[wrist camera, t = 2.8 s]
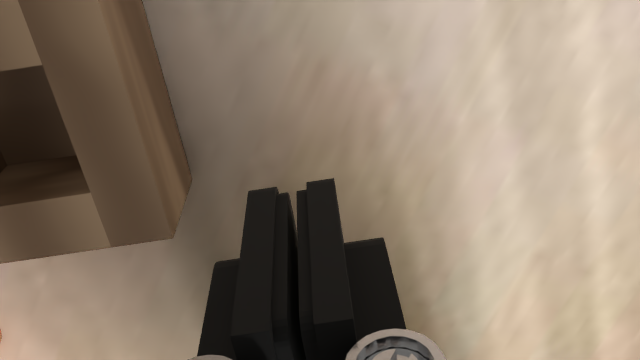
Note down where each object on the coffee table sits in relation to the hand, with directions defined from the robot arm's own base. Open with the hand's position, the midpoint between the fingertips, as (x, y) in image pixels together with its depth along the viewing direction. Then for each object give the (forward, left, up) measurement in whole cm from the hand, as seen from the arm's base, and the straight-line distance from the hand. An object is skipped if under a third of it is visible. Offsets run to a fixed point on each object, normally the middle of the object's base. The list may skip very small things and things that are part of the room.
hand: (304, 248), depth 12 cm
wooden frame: (+11, 0, -15) cm, 19 cm away
